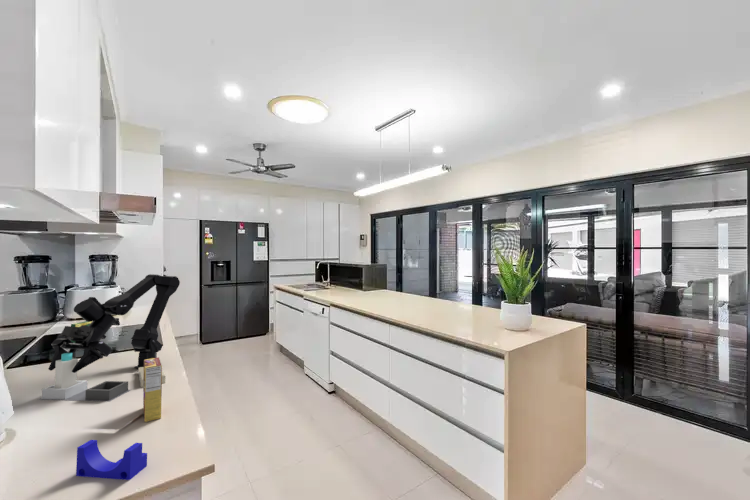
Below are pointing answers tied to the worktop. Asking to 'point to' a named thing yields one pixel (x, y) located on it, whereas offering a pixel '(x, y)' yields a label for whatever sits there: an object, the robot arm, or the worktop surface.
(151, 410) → the candy box
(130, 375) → the worktop surface
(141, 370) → the electrical outlet
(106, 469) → the blue cradle bracket
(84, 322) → the coffee box
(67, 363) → the plug
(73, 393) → the grey long flat tray
